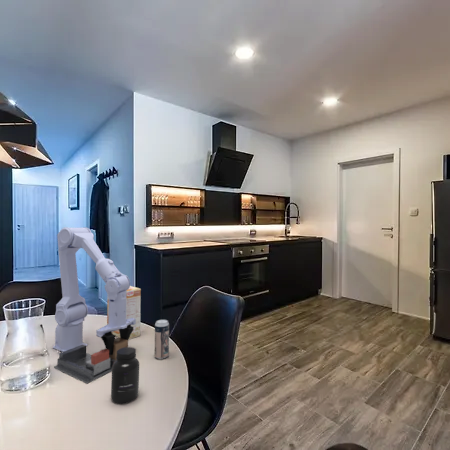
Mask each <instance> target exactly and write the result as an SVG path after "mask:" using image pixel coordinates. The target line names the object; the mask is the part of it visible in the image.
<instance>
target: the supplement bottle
mask: <svg viewBox="0 0 450 450" xmlns="http://www.w3.org/2000/svg"><path fill="white" fill-rule="evenodd" d="M136 351H137V350H136V348H135V347H131V346H128V347H125V348H121V349H119V350H118V351H117V355H116V361H115V362H114V363H113V365H112V371H111V380H110V381H111V387H110V399H111V401H112V402H114V403H115V404H119V405H122V404H128V403H129V404H130V402H131V403H132V402H133V401H134V400H135V399H136V398H137V397H138V396H139V389H140V361H139V359H138V358H137V352H136Z"/></svg>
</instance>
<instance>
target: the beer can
mask: <svg viewBox="0 0 450 450" xmlns="http://www.w3.org/2000/svg"><path fill="white" fill-rule="evenodd" d="M169 345H170V323H169V320H167V319H158V320H156V321H155V324H154V355H153V356H154V357H155V358H156V359H159V360H163V359H166V358H167V357H169V354H170V350H169V349H170V346H169Z"/></svg>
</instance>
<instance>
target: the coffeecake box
mask: <svg viewBox="0 0 450 450" xmlns="http://www.w3.org/2000/svg"><path fill="white" fill-rule="evenodd" d="M126 291H127V294H126V319H130V318H134V319H136V324H134V325H131V326H132V327H133V331H132V333H131V335H130V337H129V340H131V339H134V338H138V337H141V301H142V299H141V297H142V296H141V295H142V294H141V291H142V289H141V288H139V287H136V286H132V285H130V287H129V289H128V290H126ZM106 299H107V300H106V302H107V305H106V306H107V307H106V308H107V310H106V312H107V314H106V316H107V317H106V319H107V320H106V323H107V324H108V311H109V299H108V297H107V298H106ZM107 324H106V325H107ZM112 333H113V335H116V338H118V337H119V338H120V332H119V329H118V330H116V331H113V332H112Z"/></svg>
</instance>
